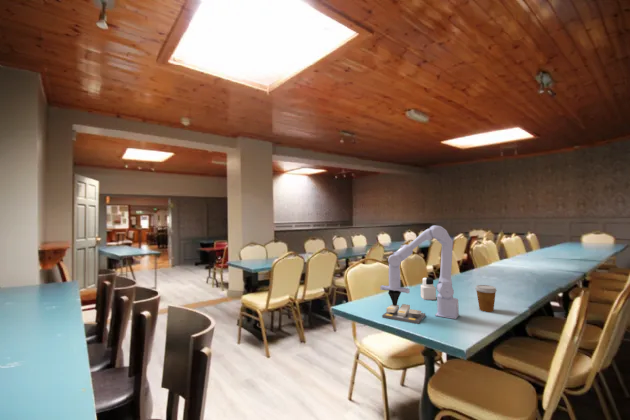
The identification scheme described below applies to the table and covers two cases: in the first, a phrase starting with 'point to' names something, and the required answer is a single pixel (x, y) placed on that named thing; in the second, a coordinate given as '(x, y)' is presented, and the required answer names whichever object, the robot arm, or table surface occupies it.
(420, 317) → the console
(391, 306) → the rocker
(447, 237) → the robot arm
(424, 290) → the medicine bottle
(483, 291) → the disposable coffee cup
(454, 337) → the table surface
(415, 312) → the block
